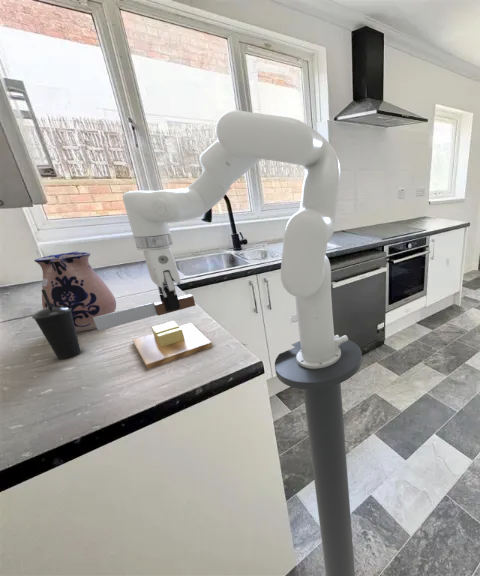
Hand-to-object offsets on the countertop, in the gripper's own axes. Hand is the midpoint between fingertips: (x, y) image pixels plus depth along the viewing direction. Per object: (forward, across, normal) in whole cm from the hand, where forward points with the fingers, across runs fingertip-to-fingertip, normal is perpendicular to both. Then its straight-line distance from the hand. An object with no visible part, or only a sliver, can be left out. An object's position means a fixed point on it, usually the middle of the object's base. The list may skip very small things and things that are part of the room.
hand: (171, 307), depth 84 cm
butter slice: (+13, +6, +1) cm, 14 cm away
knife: (+1, 0, +5) cm, 5 cm away
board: (+14, +8, +1) cm, 16 cm away
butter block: (+13, +12, +1) cm, 17 cm away
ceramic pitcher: (+14, +47, +16) cm, 52 cm away
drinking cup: (+14, +24, +22) cm, 36 cm away
